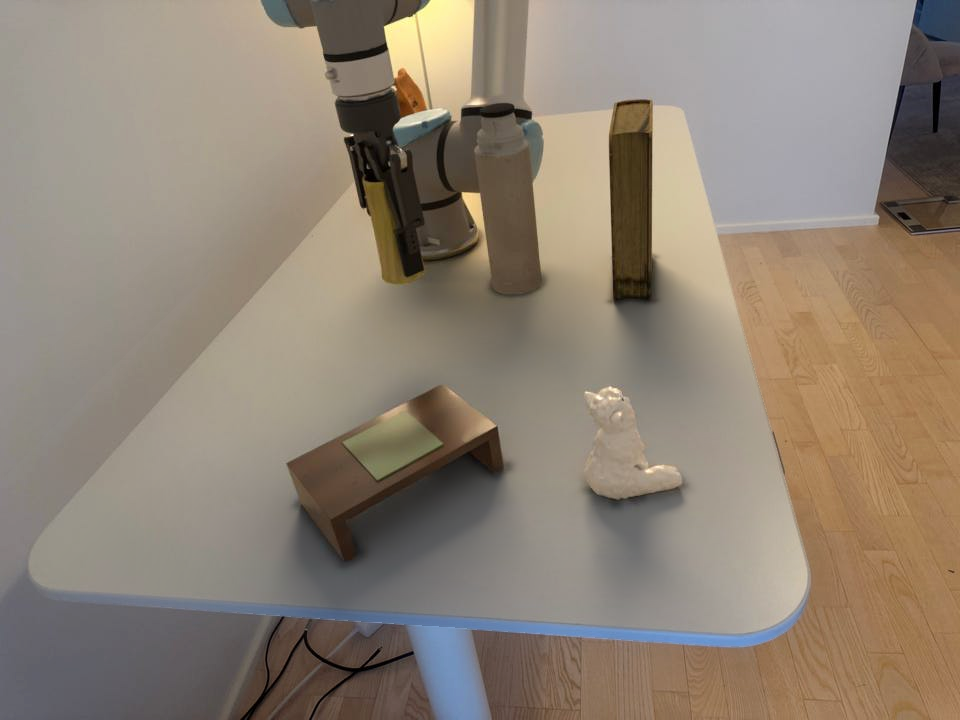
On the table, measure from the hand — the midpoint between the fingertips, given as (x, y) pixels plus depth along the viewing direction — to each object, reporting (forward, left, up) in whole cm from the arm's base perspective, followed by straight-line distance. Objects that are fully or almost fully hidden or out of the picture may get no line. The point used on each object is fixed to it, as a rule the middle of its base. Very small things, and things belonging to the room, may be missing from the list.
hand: (402, 265), depth 98 cm
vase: (0, 0, -2) cm, 2 cm away
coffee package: (-66, +40, -12) cm, 78 cm away
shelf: (+25, -17, -12) cm, 33 cm away
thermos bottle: (-3, +21, -12) cm, 24 cm away
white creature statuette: (+41, +1, -12) cm, 43 cm away
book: (+10, +34, -12) cm, 38 cm away
